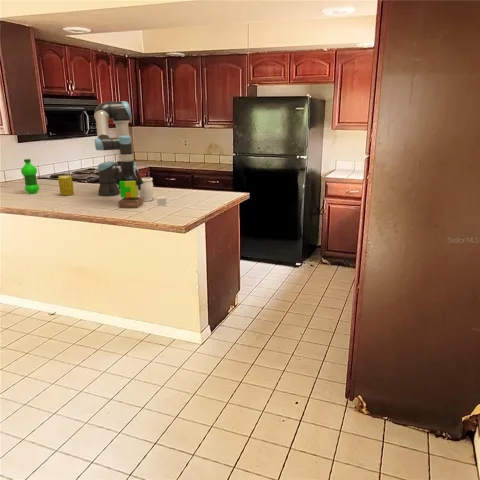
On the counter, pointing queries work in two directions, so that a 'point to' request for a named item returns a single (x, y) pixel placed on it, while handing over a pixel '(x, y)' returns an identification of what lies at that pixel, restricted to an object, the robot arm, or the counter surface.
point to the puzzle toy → (128, 188)
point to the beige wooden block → (161, 201)
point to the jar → (147, 189)
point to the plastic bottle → (30, 177)
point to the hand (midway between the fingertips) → (130, 194)
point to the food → (66, 185)
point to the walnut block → (130, 202)
